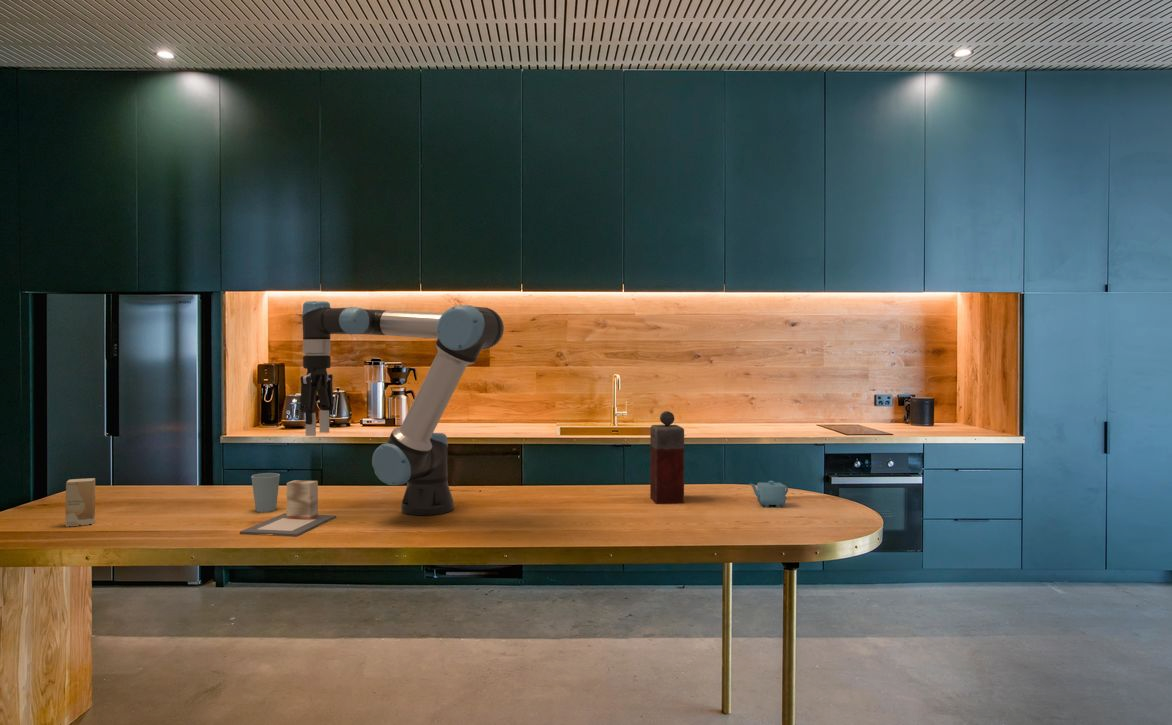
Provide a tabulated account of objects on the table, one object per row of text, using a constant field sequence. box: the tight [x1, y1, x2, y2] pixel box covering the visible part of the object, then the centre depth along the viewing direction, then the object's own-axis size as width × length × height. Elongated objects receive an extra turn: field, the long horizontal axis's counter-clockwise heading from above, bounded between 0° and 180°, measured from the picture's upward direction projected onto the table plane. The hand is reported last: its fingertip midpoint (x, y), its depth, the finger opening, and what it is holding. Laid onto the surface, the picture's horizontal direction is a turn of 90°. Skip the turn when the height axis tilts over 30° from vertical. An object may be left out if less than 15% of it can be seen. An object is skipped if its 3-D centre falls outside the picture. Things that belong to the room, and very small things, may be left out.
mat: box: [239, 512, 337, 537], centre depth 194 cm, size 16×20×1 cm
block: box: [286, 479, 319, 520], centre depth 200 cm, size 7×4×10 cm, turn 81°
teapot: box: [748, 480, 789, 508], centre depth 217 cm, size 12×6×8 cm, turn 88°
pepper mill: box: [649, 410, 685, 505], centre depth 225 cm, size 9×11×28 cm
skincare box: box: [65, 477, 96, 528], centre depth 195 cm, size 6×4×12 cm
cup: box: [251, 472, 281, 513], centre depth 211 cm, size 8×8×10 cm
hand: (317, 433), depth 207 cm, fingers open, 7 cm apart
